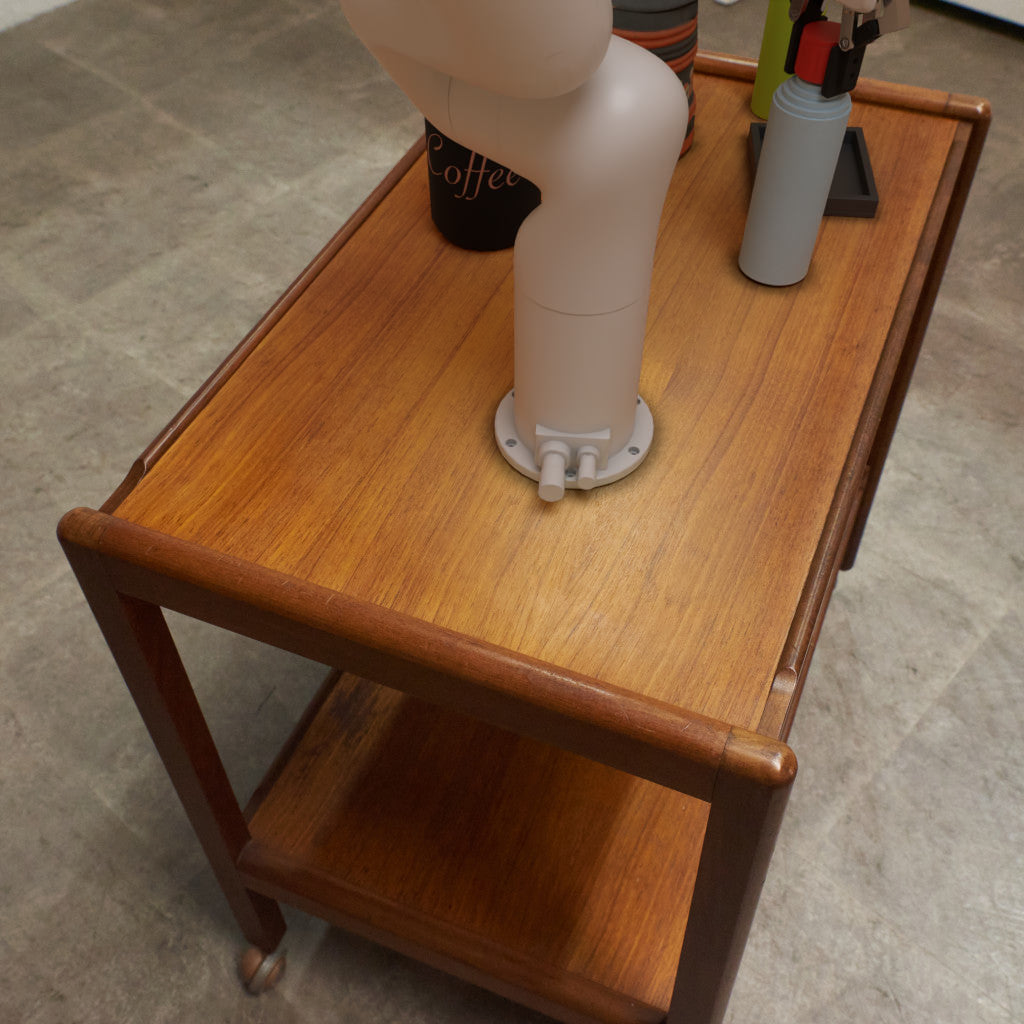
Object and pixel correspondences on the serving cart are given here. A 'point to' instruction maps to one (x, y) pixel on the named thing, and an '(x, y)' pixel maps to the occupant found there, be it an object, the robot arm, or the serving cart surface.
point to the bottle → (792, 181)
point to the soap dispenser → (772, 56)
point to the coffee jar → (475, 195)
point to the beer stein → (664, 39)
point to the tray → (836, 174)
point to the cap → (816, 49)
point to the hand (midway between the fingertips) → (819, 79)
